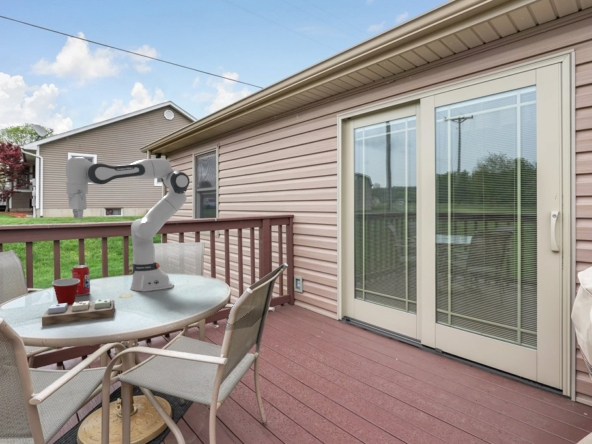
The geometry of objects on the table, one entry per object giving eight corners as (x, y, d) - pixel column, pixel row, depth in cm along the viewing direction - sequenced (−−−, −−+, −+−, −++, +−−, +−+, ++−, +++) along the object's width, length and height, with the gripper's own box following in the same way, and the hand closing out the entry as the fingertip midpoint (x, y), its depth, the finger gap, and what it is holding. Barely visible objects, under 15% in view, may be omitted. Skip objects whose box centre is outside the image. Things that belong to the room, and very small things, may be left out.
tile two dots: (110, 305, 147) (110, 298, 147) (109, 308, 142) (109, 301, 142) (96, 306, 144) (96, 299, 144) (94, 310, 140) (94, 303, 139)
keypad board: (114, 307, 151) (114, 300, 151) (112, 317, 139) (112, 309, 139) (50, 314, 141) (50, 306, 141) (42, 326, 128) (41, 317, 128)
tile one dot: (67, 310, 140) (67, 302, 140) (64, 314, 135) (64, 306, 135) (51, 311, 138) (51, 304, 137) (48, 315, 133) (48, 308, 132)
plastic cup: (59, 311, 145) (58, 284, 145) (47, 307, 151) (47, 281, 150) (85, 305, 154) (84, 280, 154) (74, 301, 160) (73, 277, 159)
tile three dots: (89, 307, 143) (89, 300, 143) (87, 311, 138) (87, 303, 138) (74, 309, 141) (74, 301, 141) (72, 313, 136) (72, 305, 136)
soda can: (68, 295, 170) (68, 266, 169) (84, 291, 177) (83, 264, 176) (77, 297, 167) (76, 268, 166) (93, 293, 174) (92, 265, 173)
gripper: (89, 190, 157) (90, 219, 158) (80, 191, 171) (80, 217, 172) (74, 189, 152) (75, 219, 153) (65, 190, 167) (66, 217, 168)
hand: (78, 218), depth 163 cm, fingers open, 8 cm apart
